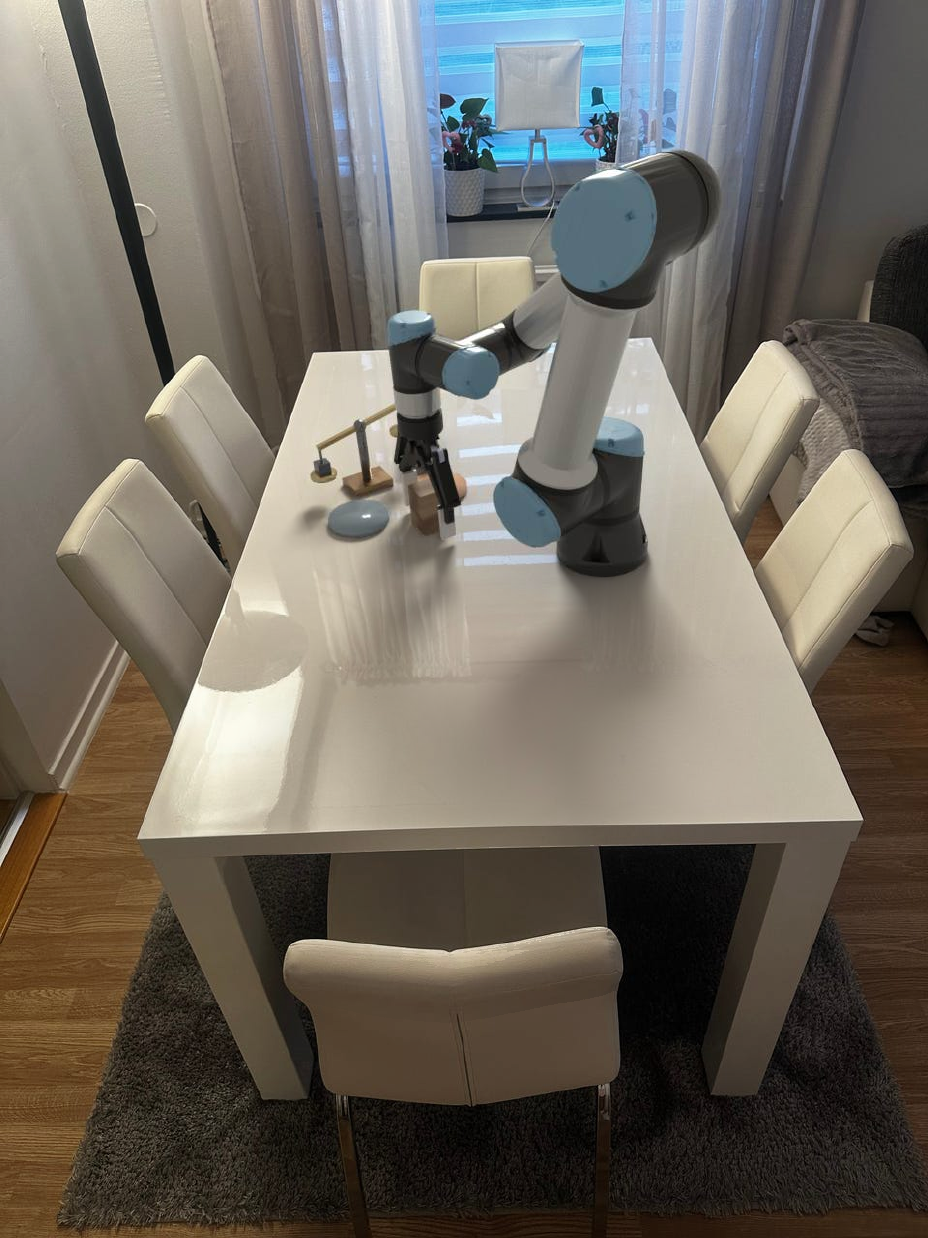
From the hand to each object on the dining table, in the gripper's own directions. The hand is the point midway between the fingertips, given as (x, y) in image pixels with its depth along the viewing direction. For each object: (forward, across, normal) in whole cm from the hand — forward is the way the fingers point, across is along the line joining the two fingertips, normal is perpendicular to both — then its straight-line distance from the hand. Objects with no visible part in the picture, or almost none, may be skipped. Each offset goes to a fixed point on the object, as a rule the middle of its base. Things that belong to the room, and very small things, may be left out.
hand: (429, 519), depth 159 cm
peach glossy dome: (+1, +10, -7) cm, 12 cm away
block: (+1, 0, 0) cm, 1 cm away
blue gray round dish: (+1, +9, +10) cm, 14 cm away
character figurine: (+2, +24, -12) cm, 27 cm away
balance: (+1, +20, +3) cm, 20 cm away
